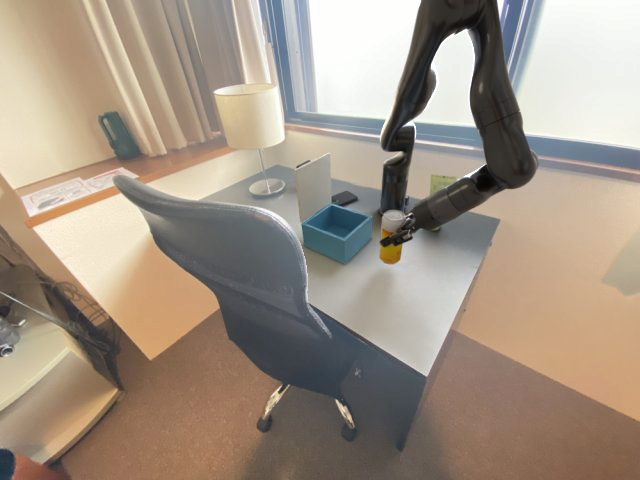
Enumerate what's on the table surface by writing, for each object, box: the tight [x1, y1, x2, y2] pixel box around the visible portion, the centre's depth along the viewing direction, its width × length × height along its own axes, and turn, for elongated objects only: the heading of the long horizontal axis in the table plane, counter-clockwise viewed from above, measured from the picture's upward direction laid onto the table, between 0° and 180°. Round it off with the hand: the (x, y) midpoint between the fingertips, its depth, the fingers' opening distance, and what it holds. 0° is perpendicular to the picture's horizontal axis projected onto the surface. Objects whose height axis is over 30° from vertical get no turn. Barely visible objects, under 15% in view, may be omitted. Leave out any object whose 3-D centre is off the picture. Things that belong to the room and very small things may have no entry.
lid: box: [294, 152, 332, 224], centre depth 88 cm, size 18×16×5 cm
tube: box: [429, 173, 458, 231], centre depth 91 cm, size 6×5×20 cm
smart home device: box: [317, 190, 359, 213], centre depth 114 cm, size 8×2×20 cm
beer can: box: [378, 210, 406, 265], centre depth 75 cm, size 6×6×15 cm
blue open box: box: [301, 204, 373, 265], centre depth 91 cm, size 17×16×9 cm
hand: (385, 237), depth 76 cm, fingers closed on beer can, 6 cm apart
